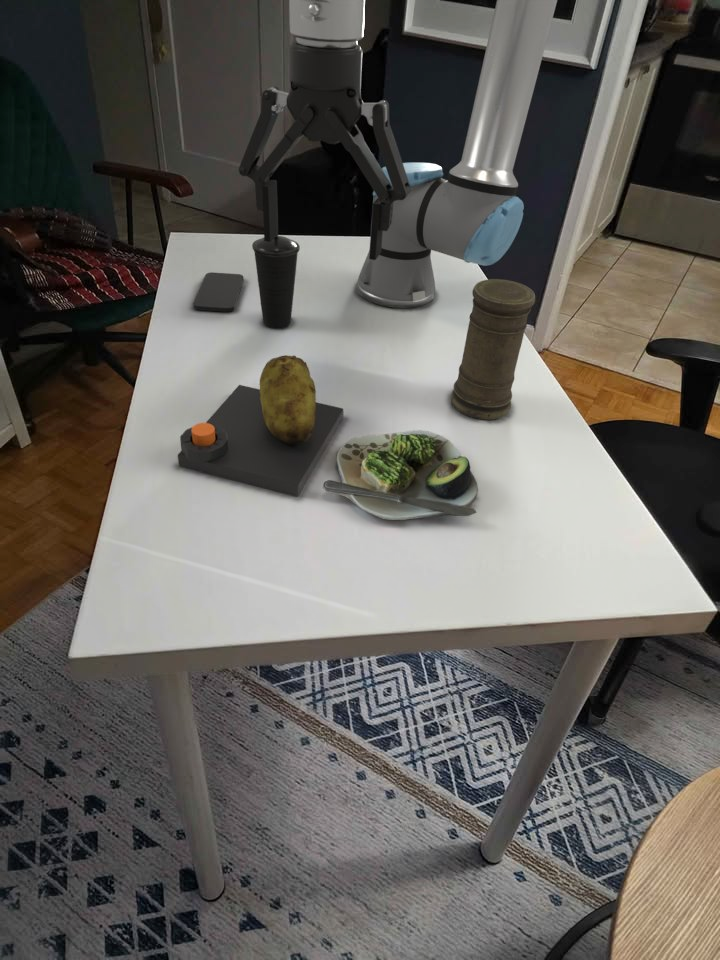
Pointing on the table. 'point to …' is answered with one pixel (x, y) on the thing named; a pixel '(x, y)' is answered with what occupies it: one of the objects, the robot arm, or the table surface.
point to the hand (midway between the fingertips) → (322, 246)
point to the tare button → (203, 434)
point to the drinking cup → (276, 279)
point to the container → (492, 348)
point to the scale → (258, 445)
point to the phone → (219, 292)
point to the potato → (288, 399)
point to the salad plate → (405, 476)
